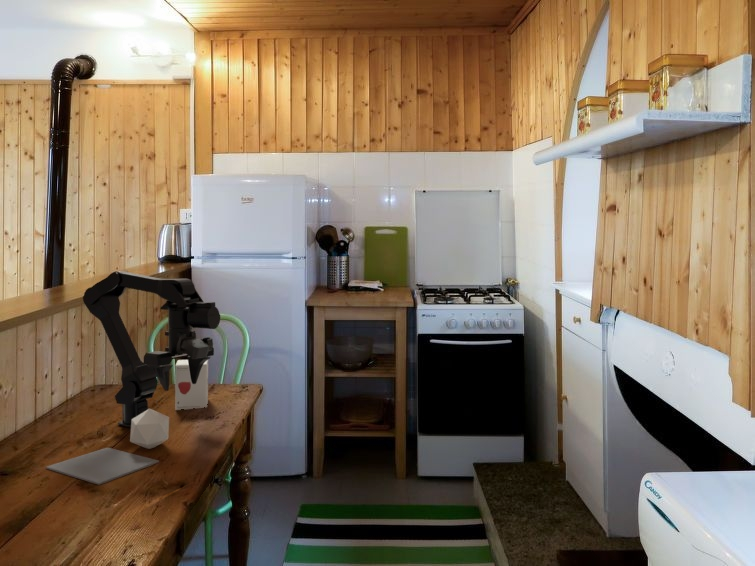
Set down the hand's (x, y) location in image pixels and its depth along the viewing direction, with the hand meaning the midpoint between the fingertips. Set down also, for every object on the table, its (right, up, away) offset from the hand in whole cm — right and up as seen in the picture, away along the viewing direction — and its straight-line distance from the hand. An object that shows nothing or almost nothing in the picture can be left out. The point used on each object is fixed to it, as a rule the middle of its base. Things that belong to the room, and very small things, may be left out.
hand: (180, 387), depth 155 cm
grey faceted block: (-3, -13, -13) cm, 18 cm away
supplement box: (-3, -11, +21) cm, 24 cm away
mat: (-9, -13, -24) cm, 28 cm away
